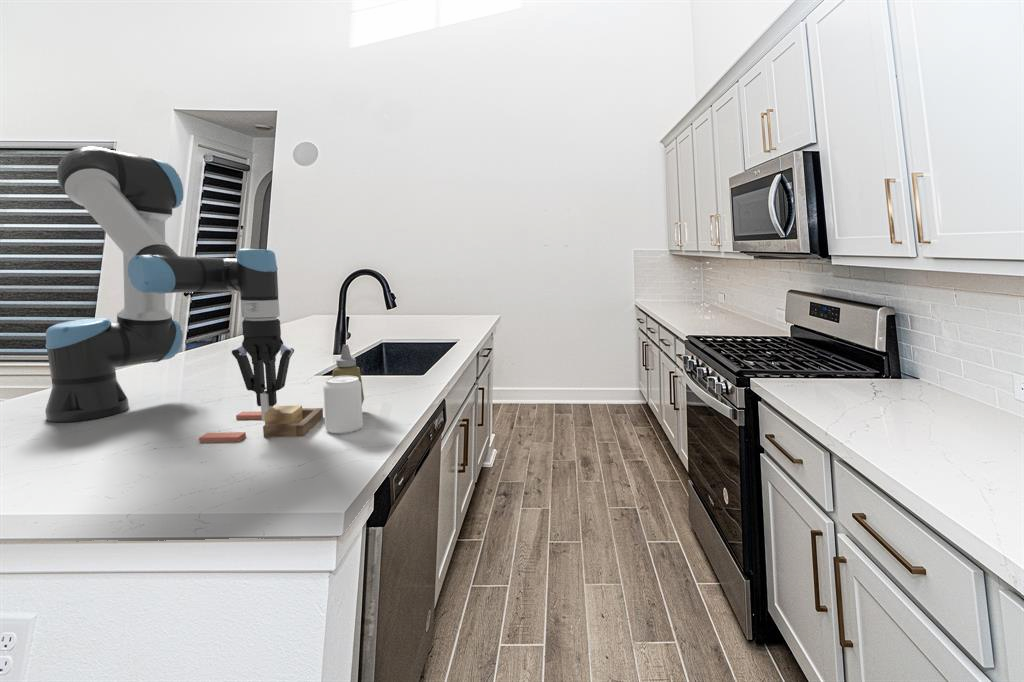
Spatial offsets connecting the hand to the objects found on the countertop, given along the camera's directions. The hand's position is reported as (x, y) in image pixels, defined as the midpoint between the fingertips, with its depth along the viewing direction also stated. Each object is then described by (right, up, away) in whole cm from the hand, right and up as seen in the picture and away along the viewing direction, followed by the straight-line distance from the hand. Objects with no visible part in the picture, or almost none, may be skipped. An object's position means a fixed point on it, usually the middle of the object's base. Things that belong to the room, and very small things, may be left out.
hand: (268, 419), depth 104 cm
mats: (-6, -2, 0) cm, 7 cm away
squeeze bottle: (+15, -1, +11) cm, 19 cm away
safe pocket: (+6, -2, +1) cm, 6 cm away
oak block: (+4, -2, 0) cm, 4 cm away
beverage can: (+18, -3, 0) cm, 18 cm away
